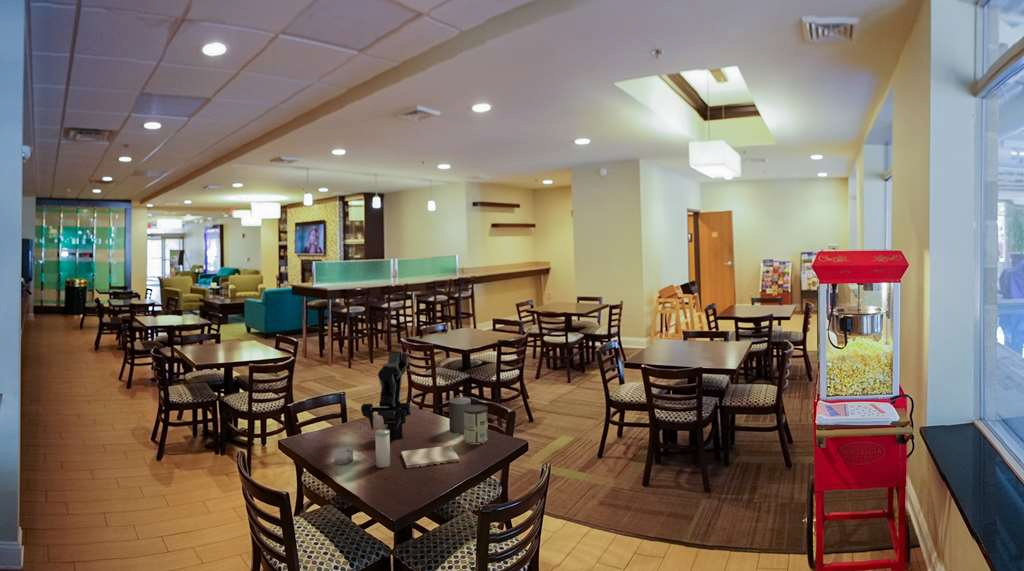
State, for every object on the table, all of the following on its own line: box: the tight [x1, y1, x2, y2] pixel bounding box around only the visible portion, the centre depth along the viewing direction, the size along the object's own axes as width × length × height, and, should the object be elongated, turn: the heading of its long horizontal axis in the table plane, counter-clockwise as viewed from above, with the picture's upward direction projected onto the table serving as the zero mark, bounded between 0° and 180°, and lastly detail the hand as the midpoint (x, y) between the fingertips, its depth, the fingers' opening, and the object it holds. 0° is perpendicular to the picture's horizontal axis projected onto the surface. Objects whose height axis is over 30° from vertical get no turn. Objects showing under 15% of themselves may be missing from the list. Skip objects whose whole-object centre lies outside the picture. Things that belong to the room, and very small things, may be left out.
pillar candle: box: [448, 396, 472, 434], centre depth 255 cm, size 10×10×15 cm
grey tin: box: [333, 446, 354, 467], centre depth 220 cm, size 7×7×5 cm
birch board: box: [401, 445, 460, 469], centre depth 223 cm, size 20×15×1 cm
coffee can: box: [463, 404, 489, 445], centre depth 242 cm, size 10×10×14 cm
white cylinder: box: [374, 428, 391, 469], centre depth 216 cm, size 5×5×13 cm
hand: (384, 429), depth 220 cm, fingers open, 9 cm apart
